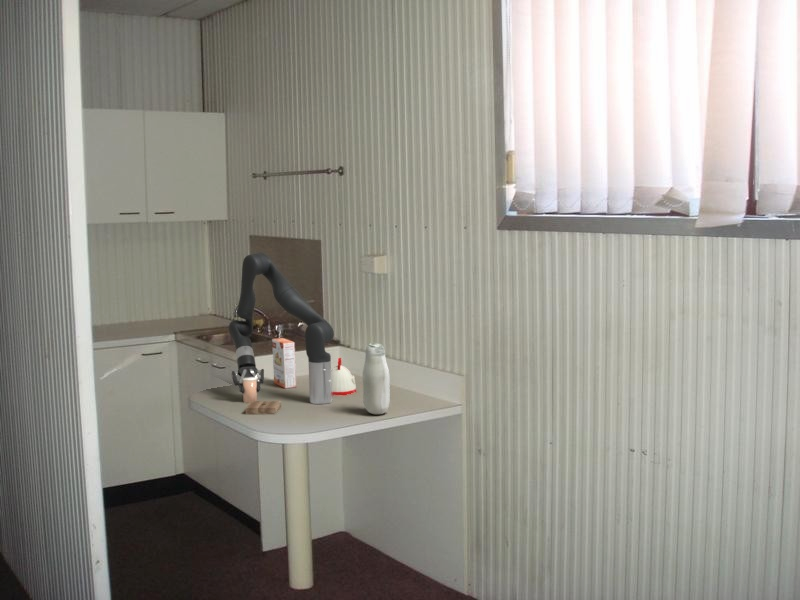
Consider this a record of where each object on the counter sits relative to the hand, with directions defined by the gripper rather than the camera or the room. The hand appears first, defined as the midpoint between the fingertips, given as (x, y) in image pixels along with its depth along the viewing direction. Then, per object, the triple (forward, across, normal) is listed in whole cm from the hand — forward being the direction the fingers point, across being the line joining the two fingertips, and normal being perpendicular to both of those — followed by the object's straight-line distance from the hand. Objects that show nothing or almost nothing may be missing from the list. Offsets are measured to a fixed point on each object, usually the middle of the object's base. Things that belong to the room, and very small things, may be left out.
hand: (250, 391), depth 386 cm
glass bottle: (+31, +43, -25) cm, 59 cm away
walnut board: (+15, +3, -9) cm, 18 cm away
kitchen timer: (0, +40, +7) cm, 40 cm away
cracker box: (-17, +19, +24) cm, 35 cm away
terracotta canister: (+2, 0, +4) cm, 5 cm away
